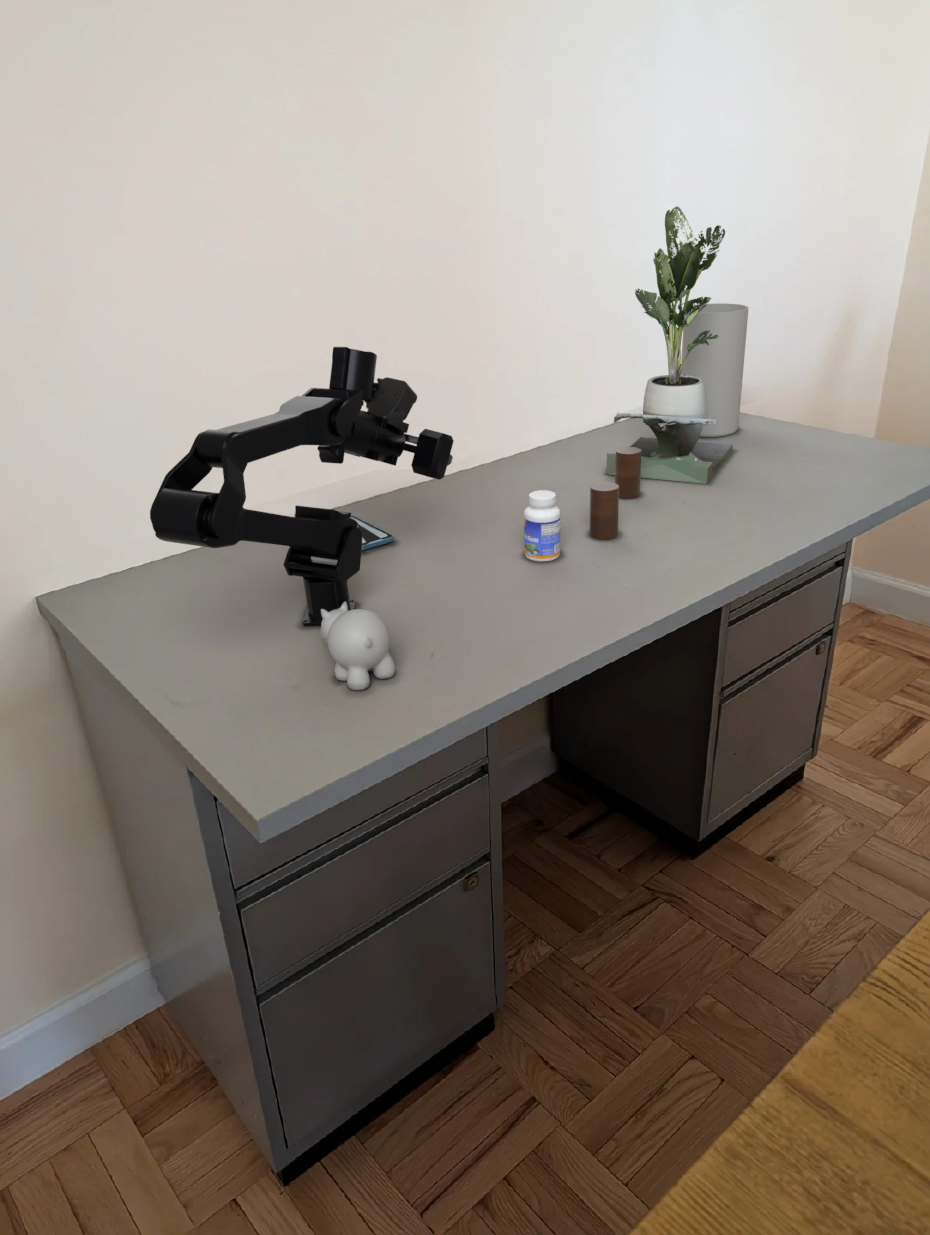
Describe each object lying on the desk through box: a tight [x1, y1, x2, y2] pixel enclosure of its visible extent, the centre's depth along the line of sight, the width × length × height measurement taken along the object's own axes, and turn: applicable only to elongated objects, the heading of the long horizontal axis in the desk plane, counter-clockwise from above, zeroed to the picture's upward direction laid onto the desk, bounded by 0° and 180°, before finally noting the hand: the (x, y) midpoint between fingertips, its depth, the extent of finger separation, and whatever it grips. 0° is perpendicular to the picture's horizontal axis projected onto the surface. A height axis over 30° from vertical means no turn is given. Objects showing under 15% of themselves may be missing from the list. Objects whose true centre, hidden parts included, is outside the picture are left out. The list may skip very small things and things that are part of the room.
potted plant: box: [606, 206, 734, 485], centre depth 163 cm, size 22×19×45 cm
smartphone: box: [350, 514, 395, 552], centre depth 147 cm, size 7×1×15 cm
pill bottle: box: [523, 489, 561, 563], centre depth 133 cm, size 5×5×10 cm
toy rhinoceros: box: [319, 601, 396, 691], centre depth 105 cm, size 7×12×8 cm, turn 34°
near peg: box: [589, 481, 620, 541], centre depth 140 cm, size 4×4×8 cm
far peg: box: [614, 446, 641, 500], centre depth 156 cm, size 4×4×8 cm
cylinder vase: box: [681, 303, 749, 438], centre depth 186 cm, size 12×12×25 cm
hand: (426, 453), depth 134 cm, fingers open, 9 cm apart
